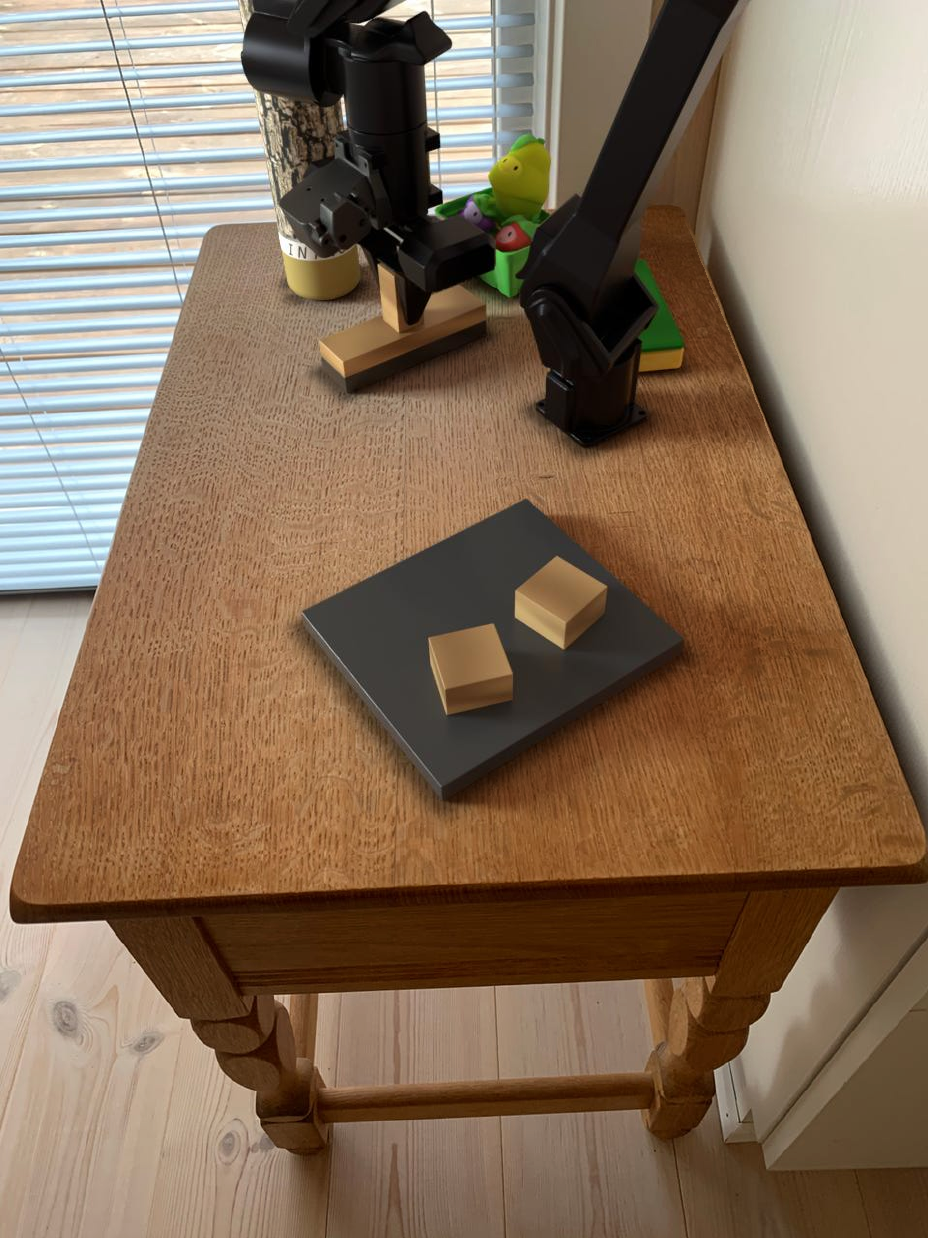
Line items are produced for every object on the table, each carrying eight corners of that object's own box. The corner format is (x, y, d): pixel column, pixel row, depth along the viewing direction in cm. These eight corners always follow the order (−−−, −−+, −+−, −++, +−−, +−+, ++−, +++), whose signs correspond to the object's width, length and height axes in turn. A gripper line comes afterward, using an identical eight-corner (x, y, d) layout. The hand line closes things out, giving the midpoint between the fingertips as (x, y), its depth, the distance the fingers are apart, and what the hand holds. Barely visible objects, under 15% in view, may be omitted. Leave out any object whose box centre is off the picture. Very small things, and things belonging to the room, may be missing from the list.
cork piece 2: (555, 582, 64) (557, 555, 62) (604, 613, 62) (608, 586, 60) (514, 617, 62) (515, 590, 60) (564, 650, 60) (566, 623, 58)
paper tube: (282, 272, 93) (227, -34, 74) (352, 259, 94) (316, -45, 75) (295, 309, 89) (241, -6, 70) (369, 295, 90) (335, -18, 71)
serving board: (525, 513, 70) (526, 497, 69) (681, 654, 61) (685, 638, 60) (303, 626, 64) (300, 611, 63) (442, 802, 55) (441, 787, 54)
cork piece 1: (494, 649, 60) (493, 622, 58) (513, 700, 57) (513, 673, 56) (430, 663, 59) (428, 637, 58) (446, 716, 57) (444, 689, 55)
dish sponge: (597, 377, 81) (599, 351, 79) (565, 288, 90) (566, 264, 88) (682, 369, 81) (686, 343, 79) (641, 281, 90) (644, 257, 88)
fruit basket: (432, 259, 94) (425, 137, 85) (505, 230, 97) (505, 110, 89) (506, 309, 88) (507, 184, 79) (582, 276, 91) (590, 152, 83)
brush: (460, 314, 87) (457, 228, 81) (486, 334, 85) (485, 247, 79) (323, 370, 82) (309, 283, 76) (347, 393, 80) (334, 305, 74)
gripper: (225, 105, 72) (263, 299, 83) (356, 200, 61) (379, 406, 73) (356, 68, 76) (375, 258, 87) (500, 151, 65) (500, 354, 77)
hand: (403, 315), depth 81 cm, fingers closed on brush, 2 cm apart
